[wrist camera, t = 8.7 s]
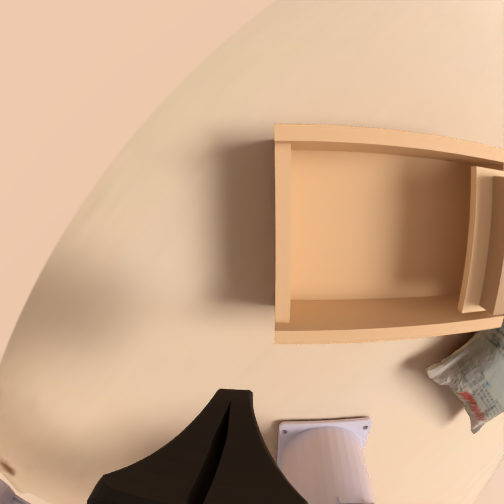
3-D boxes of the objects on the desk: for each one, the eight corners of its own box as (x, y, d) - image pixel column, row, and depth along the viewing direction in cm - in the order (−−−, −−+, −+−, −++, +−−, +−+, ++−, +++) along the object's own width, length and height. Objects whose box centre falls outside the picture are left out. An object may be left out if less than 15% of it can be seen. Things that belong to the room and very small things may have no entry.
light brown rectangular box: (465, 299, 20) (501, 327, 15) (275, 306, 21) (274, 344, 16) (476, 155, 17) (520, 153, 12) (274, 138, 19) (273, 124, 14)
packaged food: (462, 417, 23) (482, 447, 18) (415, 358, 21) (440, 393, 17) (521, 359, 21) (547, 382, 16) (489, 284, 20) (525, 304, 15)
